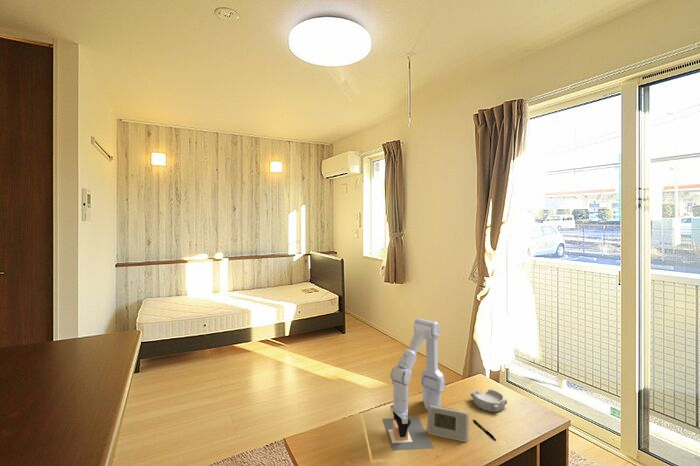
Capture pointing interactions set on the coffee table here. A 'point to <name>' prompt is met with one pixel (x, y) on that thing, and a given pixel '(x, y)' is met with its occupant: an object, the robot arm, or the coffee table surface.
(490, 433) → the pen
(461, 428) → the digital clock
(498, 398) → the dish
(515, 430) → the coffee table surface
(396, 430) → the block
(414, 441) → the mat
